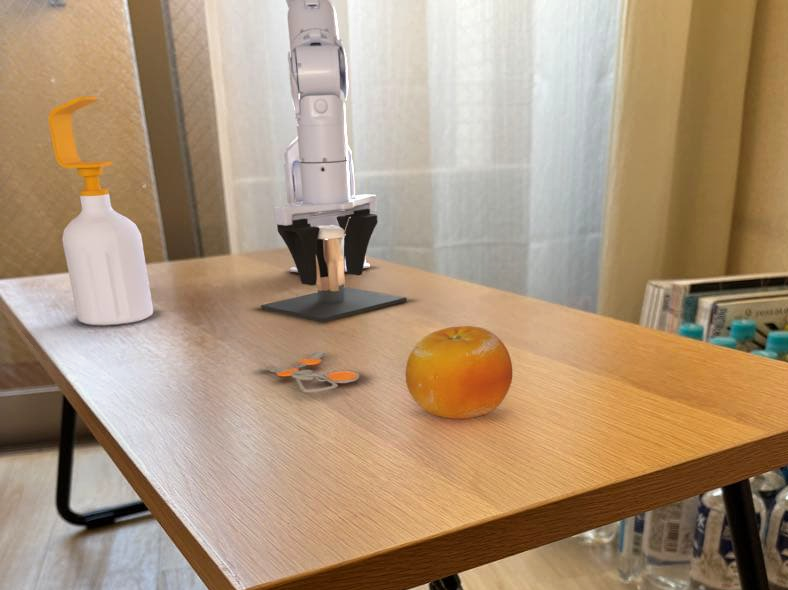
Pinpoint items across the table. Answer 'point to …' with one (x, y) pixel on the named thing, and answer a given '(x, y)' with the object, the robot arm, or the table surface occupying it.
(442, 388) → the fruit
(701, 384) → the table surface
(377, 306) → the mat
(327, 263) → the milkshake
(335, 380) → the key chain
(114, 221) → the soap bottle
